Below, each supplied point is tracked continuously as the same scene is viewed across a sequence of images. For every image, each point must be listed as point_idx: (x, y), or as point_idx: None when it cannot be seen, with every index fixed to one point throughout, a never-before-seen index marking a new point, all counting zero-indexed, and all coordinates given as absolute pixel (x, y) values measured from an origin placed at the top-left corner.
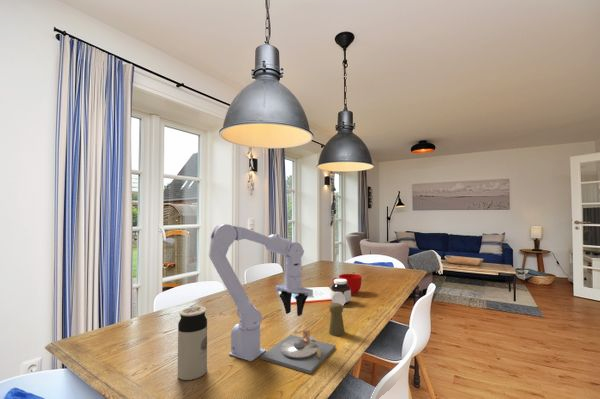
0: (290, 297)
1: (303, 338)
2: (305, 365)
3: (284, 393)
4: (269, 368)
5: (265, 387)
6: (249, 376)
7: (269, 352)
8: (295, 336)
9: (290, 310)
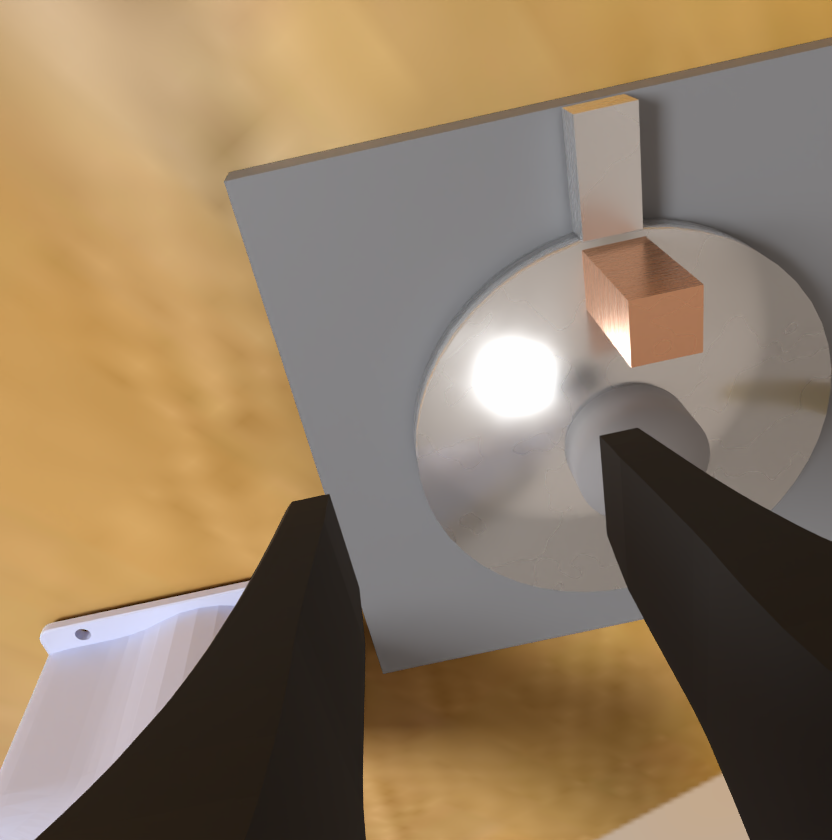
0: (292, 790)
1: (597, 322)
2: None
3: None
4: (538, 674)
5: (657, 771)
6: (497, 778)
7: (396, 607)
8: (323, 178)
9: (326, 513)
